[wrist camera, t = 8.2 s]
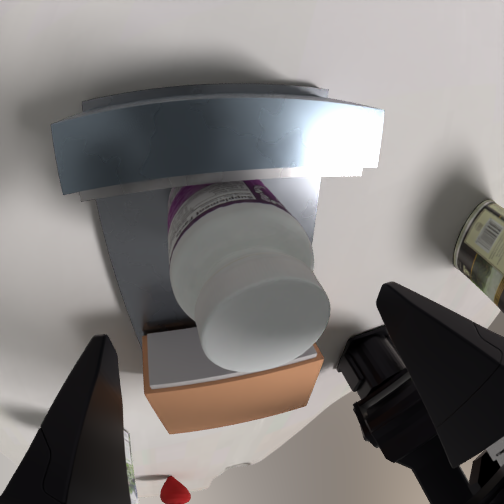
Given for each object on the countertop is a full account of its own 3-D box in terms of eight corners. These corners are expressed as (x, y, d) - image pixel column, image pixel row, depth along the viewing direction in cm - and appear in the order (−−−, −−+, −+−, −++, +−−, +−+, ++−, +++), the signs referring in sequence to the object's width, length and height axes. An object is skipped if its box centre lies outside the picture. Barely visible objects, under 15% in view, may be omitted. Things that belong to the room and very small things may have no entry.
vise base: (286, 355, 28) (311, 408, 23) (158, 378, 25) (165, 438, 19) (320, 88, 14) (394, 100, 9) (86, 100, 11) (36, 113, 6)
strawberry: (191, 474, 48) (201, 511, 40) (168, 480, 49) (176, 515, 41) (173, 471, 45) (182, 512, 37) (150, 477, 46) (157, 514, 38)
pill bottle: (273, 218, 17) (358, 338, 10) (195, 257, 17) (228, 400, 10) (239, 138, 14) (337, 220, 6) (149, 184, 14) (135, 320, 6)
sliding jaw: (287, 363, 26) (306, 405, 22) (163, 386, 23) (169, 434, 19) (298, 305, 22) (325, 354, 18) (140, 331, 19) (142, 390, 15)
